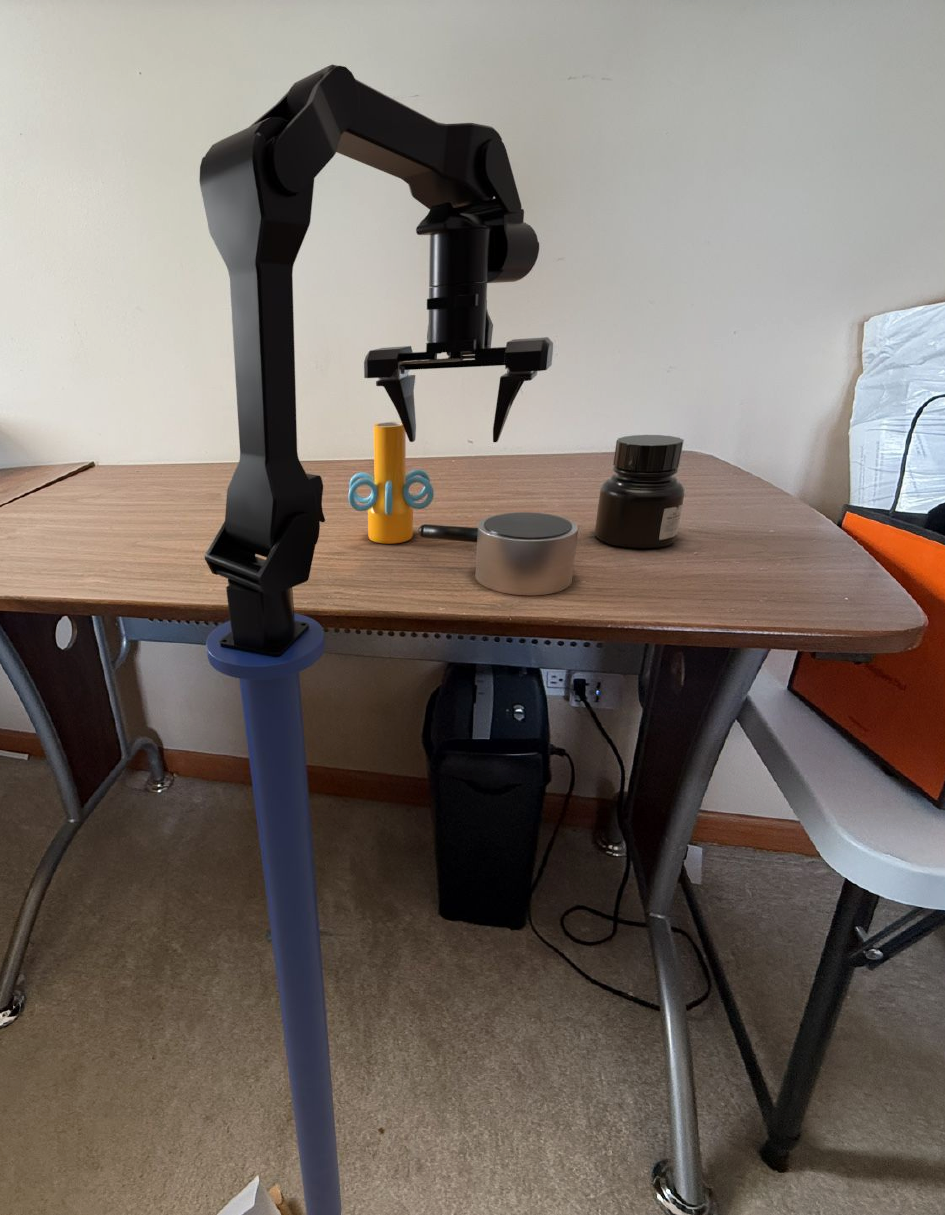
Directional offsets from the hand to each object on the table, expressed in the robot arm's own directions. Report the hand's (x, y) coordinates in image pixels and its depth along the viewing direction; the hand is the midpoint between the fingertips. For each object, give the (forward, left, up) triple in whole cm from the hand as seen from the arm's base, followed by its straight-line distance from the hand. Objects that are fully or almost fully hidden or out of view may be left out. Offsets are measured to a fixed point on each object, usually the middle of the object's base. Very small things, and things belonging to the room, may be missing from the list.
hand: (452, 441), depth 70 cm
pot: (-3, -5, -14) cm, 15 cm away
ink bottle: (+13, -19, -14) cm, 28 cm away
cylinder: (+6, +10, -14) cm, 18 cm away
